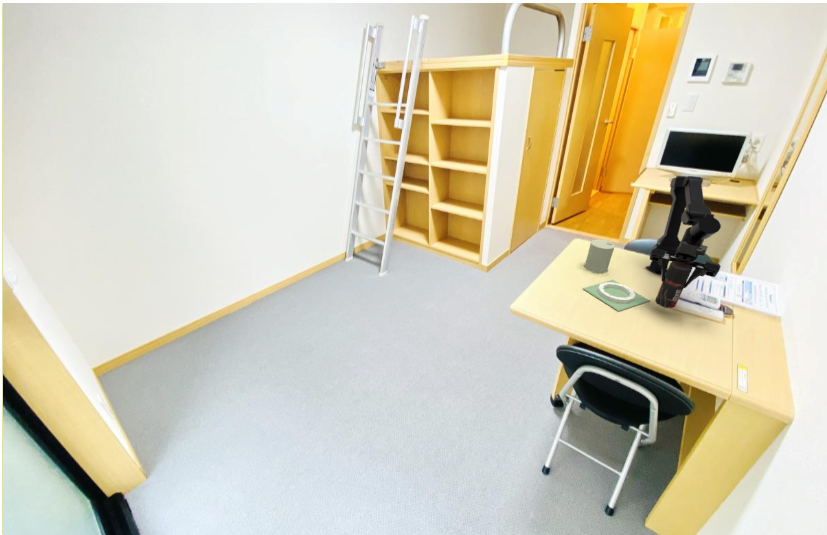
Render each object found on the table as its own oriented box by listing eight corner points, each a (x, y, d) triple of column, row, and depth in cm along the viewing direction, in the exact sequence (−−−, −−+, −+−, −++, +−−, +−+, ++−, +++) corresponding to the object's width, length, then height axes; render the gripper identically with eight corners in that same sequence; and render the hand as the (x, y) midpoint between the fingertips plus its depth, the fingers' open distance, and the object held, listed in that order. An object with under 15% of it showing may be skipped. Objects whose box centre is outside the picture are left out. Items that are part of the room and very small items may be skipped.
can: (611, 273, 144) (619, 247, 139) (589, 273, 145) (596, 247, 139) (601, 262, 152) (609, 238, 147) (580, 262, 153) (587, 238, 147)
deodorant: (668, 310, 116) (684, 271, 108) (651, 300, 121) (666, 263, 113) (679, 305, 118) (696, 267, 110) (662, 296, 123) (678, 259, 115)
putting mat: (612, 280, 139) (613, 276, 138) (649, 301, 126) (651, 296, 125) (582, 289, 134) (583, 284, 133) (618, 311, 121) (619, 307, 120)
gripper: (661, 226, 115) (642, 267, 113) (733, 241, 104) (713, 287, 102) (658, 239, 124) (641, 277, 122) (724, 255, 113) (706, 297, 111)
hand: (673, 284), depth 114 cm, fingers closed on deodorant, 6 cm apart
